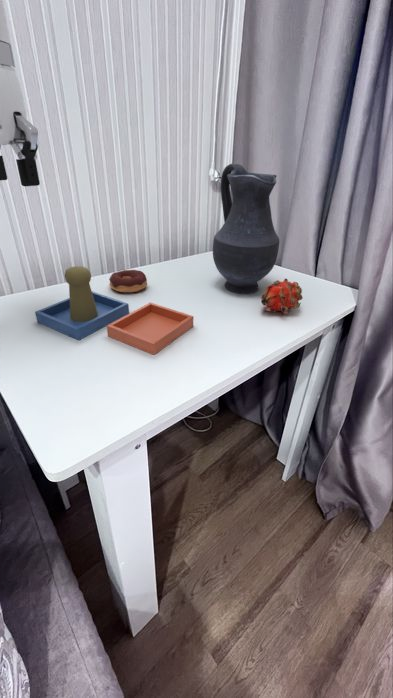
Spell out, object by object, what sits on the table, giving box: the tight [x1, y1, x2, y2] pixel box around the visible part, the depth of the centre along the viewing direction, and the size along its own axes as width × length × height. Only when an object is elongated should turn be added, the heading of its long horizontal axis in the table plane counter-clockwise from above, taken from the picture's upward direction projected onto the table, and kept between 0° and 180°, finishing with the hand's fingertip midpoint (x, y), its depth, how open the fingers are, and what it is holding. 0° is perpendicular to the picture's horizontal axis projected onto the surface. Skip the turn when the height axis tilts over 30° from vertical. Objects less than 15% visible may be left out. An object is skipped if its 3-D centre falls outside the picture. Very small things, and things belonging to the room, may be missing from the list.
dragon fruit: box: [260, 278, 304, 315], centre depth 80 cm, size 8×8×12 cm
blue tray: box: [34, 290, 130, 341], centre depth 74 cm, size 15×13×2 cm
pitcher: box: [212, 163, 280, 295], centre depth 87 cm, size 17×21×30 cm
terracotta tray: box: [106, 302, 195, 356], centre depth 70 cm, size 14×12×2 cm
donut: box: [109, 269, 148, 293], centre depth 89 cm, size 10×10×4 cm
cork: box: [64, 265, 98, 322], centre depth 71 cm, size 6×6×11 cm
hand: (14, 182), depth 60 cm, fingers open, 9 cm apart
